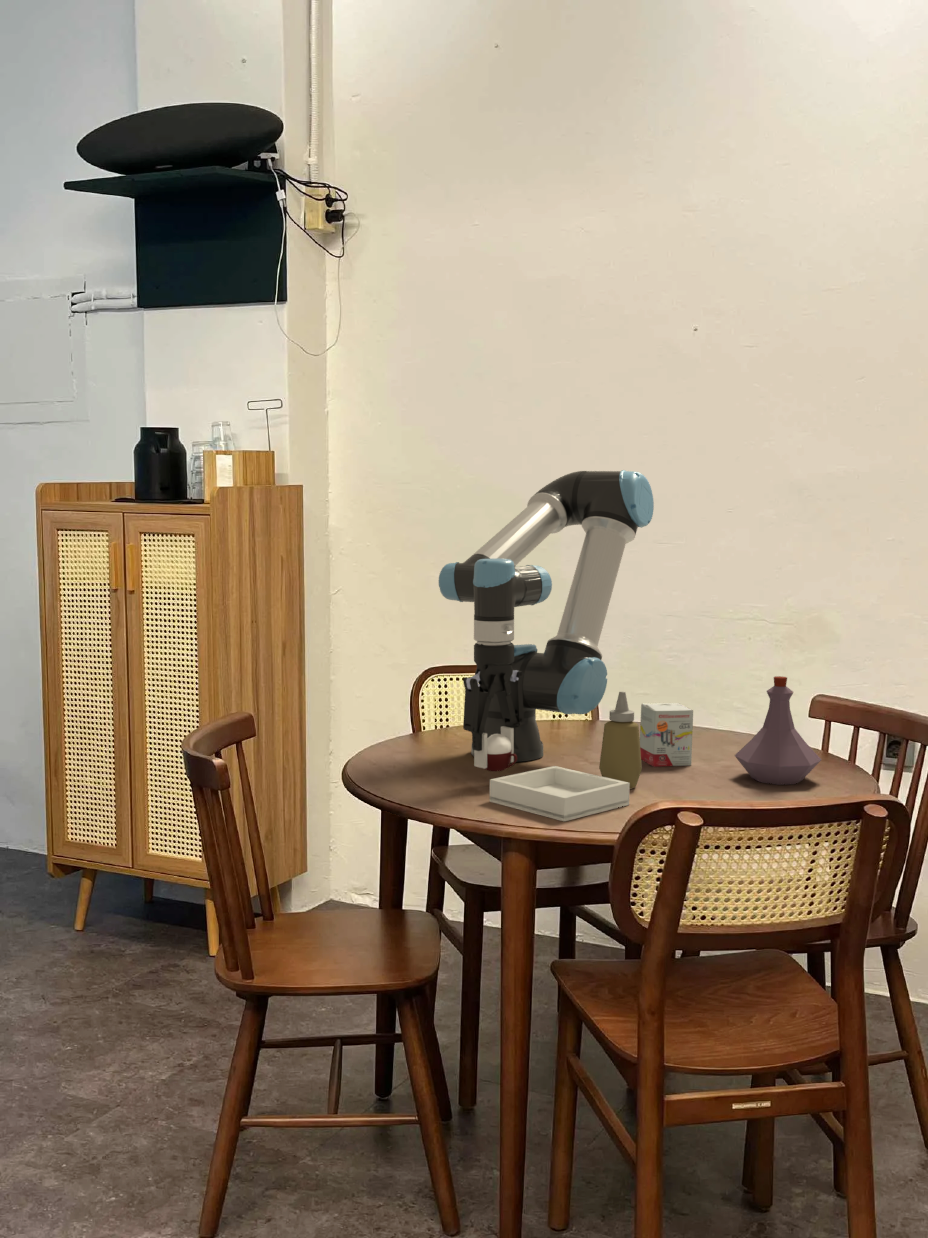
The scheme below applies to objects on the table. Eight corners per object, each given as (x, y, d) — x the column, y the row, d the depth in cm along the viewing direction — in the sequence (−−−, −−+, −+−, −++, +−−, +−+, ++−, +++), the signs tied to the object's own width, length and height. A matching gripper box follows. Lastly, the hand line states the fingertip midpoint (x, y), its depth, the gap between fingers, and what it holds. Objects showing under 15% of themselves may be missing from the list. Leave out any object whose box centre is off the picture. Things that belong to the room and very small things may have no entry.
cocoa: (521, 773, 233) (525, 710, 231) (495, 777, 229) (499, 713, 228) (489, 761, 240) (493, 700, 239) (464, 765, 236) (467, 703, 235)
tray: (554, 786, 234) (554, 765, 234) (629, 805, 221) (629, 782, 221) (489, 801, 223) (489, 779, 222) (564, 821, 210) (564, 798, 209)
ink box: (652, 767, 252) (654, 709, 251) (638, 758, 260) (639, 702, 259) (692, 765, 254) (694, 708, 253) (677, 757, 262) (678, 701, 261)
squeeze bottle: (595, 781, 239) (597, 688, 237) (636, 781, 239) (639, 688, 237) (602, 792, 231) (604, 695, 229) (645, 791, 231) (648, 695, 229)
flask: (715, 776, 245) (718, 675, 243) (774, 766, 254) (777, 669, 252) (779, 793, 231) (783, 686, 229) (839, 782, 240) (843, 679, 238)
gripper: (470, 649, 222) (470, 776, 225) (544, 639, 235) (543, 759, 238) (442, 645, 228) (442, 769, 231) (516, 635, 241) (515, 752, 244)
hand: (494, 763), depth 234 cm, fingers closed on cocoa, 6 cm apart
